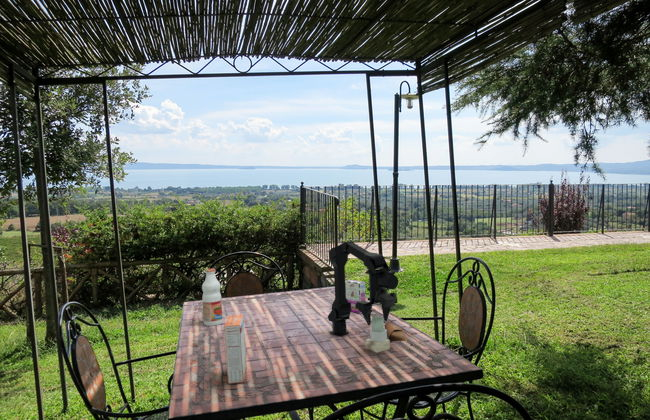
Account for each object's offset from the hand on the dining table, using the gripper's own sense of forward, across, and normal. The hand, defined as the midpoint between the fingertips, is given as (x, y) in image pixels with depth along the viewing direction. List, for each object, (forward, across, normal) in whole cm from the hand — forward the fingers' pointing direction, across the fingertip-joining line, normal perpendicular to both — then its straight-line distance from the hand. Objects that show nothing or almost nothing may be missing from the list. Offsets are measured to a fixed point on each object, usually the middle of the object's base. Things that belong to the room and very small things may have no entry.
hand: (377, 323), depth 197 cm
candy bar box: (+11, +31, +50) cm, 60 cm away
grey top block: (+7, 0, 0) cm, 7 cm away
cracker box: (+11, -57, +14) cm, 60 cm away
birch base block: (+11, 0, 0) cm, 11 cm away
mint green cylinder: (+3, 0, 0) cm, 3 cm away
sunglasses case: (+11, +18, +8) cm, 22 cm away
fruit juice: (+11, -35, +85) cm, 93 cm away
